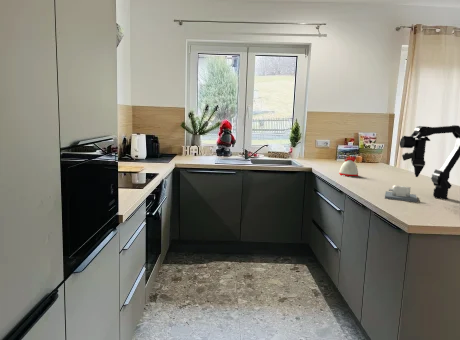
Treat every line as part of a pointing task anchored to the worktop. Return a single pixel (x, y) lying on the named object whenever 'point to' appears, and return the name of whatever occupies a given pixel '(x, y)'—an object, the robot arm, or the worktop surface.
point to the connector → (400, 191)
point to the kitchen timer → (349, 168)
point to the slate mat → (401, 197)
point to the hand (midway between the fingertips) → (416, 175)
